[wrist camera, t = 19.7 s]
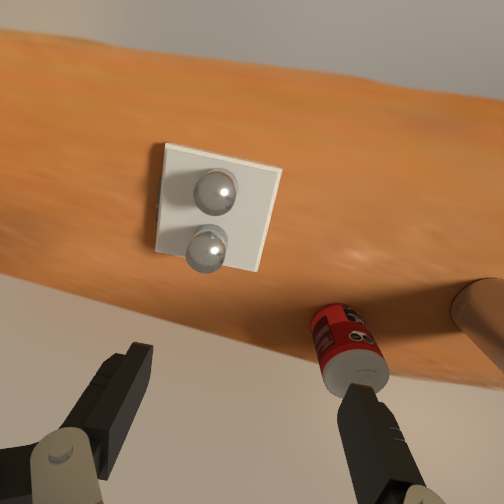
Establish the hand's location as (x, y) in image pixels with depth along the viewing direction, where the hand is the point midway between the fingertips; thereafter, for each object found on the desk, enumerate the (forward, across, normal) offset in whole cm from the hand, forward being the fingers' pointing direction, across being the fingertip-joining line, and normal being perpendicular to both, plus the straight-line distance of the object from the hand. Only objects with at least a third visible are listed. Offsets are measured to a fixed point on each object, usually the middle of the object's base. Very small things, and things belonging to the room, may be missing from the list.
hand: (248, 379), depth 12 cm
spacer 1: (+27, +5, -2) cm, 28 cm away
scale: (+30, +5, +2) cm, 31 cm away
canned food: (+30, -16, +16) cm, 38 cm away
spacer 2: (+27, +5, +6) cm, 28 cm away
